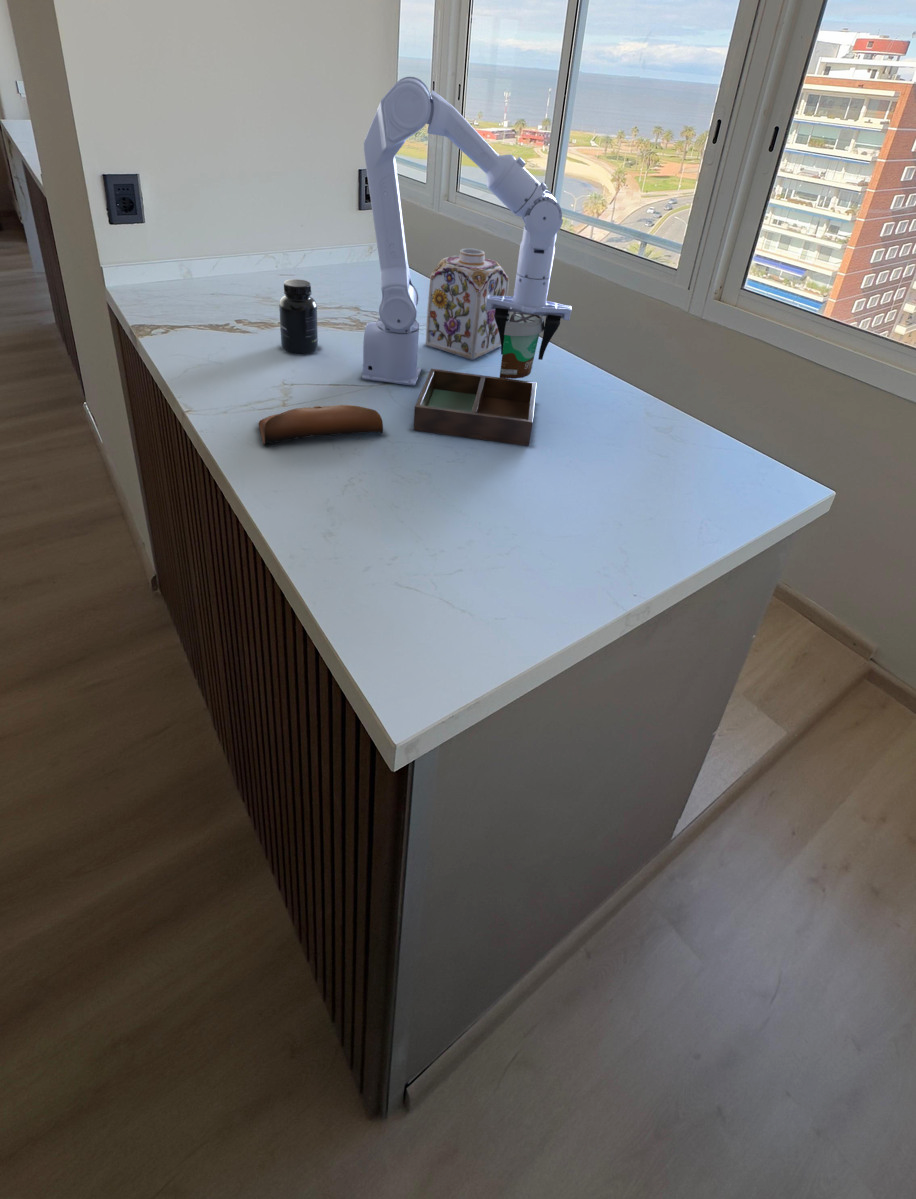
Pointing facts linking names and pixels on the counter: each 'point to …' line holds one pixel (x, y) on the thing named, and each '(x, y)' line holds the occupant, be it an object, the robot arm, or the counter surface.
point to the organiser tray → (476, 407)
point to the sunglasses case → (319, 422)
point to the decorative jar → (464, 304)
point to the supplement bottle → (298, 318)
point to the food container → (520, 344)
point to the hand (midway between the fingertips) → (521, 355)
